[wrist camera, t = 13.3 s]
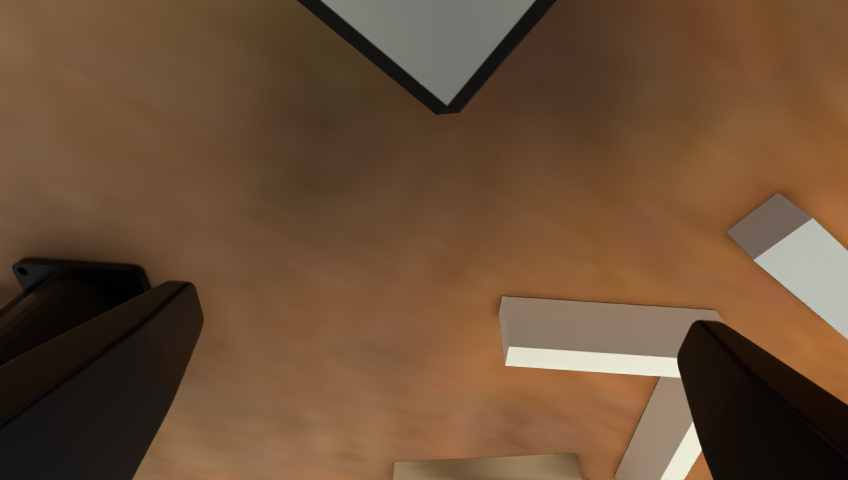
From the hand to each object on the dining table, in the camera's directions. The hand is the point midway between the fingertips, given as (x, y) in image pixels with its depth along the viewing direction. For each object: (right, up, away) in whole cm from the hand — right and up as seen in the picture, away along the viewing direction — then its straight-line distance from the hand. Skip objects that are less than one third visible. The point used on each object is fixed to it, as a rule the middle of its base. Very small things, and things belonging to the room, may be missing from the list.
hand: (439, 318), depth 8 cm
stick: (+17, +1, +13) cm, 22 cm away
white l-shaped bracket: (+8, -8, +19) cm, 22 cm away
